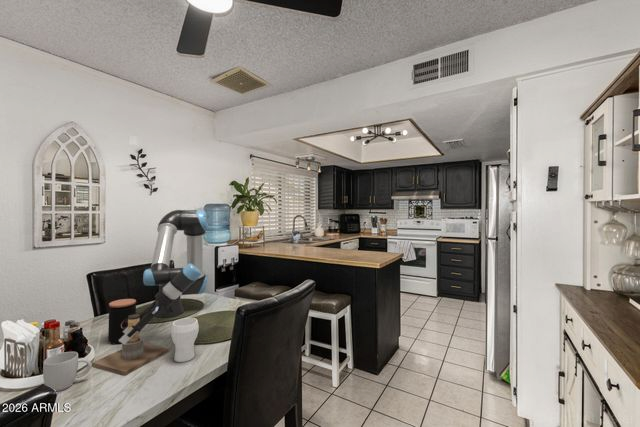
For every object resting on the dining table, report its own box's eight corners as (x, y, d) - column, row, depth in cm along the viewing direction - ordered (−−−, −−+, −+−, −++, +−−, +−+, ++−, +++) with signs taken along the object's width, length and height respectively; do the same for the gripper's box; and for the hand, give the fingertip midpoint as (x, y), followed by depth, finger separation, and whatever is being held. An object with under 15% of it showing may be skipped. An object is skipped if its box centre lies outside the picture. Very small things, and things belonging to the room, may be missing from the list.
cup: (171, 354, 123) (172, 319, 123) (198, 349, 128) (198, 316, 128) (169, 366, 114) (169, 328, 114) (198, 361, 118) (199, 324, 118)
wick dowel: (133, 352, 121) (134, 313, 122) (140, 353, 120) (141, 314, 121) (124, 356, 118) (125, 316, 118) (131, 357, 116) (132, 317, 117)
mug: (39, 398, 93) (40, 367, 93) (45, 384, 100) (46, 355, 100) (90, 385, 100) (90, 356, 100) (91, 373, 108) (92, 346, 108)
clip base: (138, 344, 131) (139, 328, 131) (169, 351, 125) (169, 334, 125) (91, 366, 112) (92, 347, 112) (125, 375, 106) (125, 355, 107)
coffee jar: (121, 346, 130) (122, 306, 130) (102, 343, 132) (103, 304, 132) (140, 336, 140) (141, 299, 140) (122, 334, 142) (123, 297, 142)
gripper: (174, 307, 116) (126, 354, 109) (175, 293, 135) (134, 333, 128) (160, 295, 114) (110, 343, 107) (163, 283, 133) (120, 323, 126)
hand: (123, 337), depth 117 cm, fingers open, 8 cm apart
